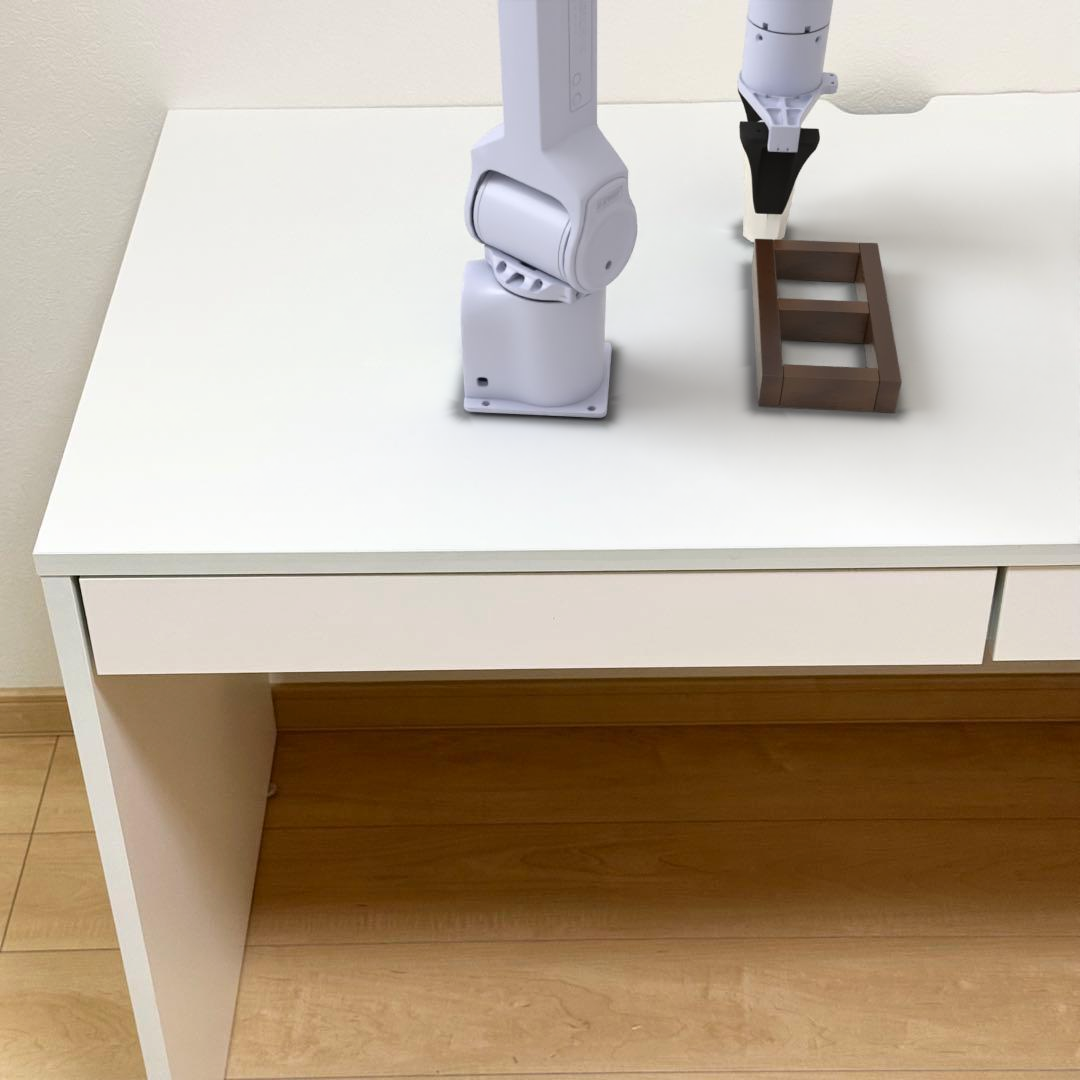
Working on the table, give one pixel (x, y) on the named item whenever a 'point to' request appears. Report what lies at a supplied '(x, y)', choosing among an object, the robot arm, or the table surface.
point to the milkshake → (761, 223)
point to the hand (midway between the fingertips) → (767, 192)
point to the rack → (823, 327)
